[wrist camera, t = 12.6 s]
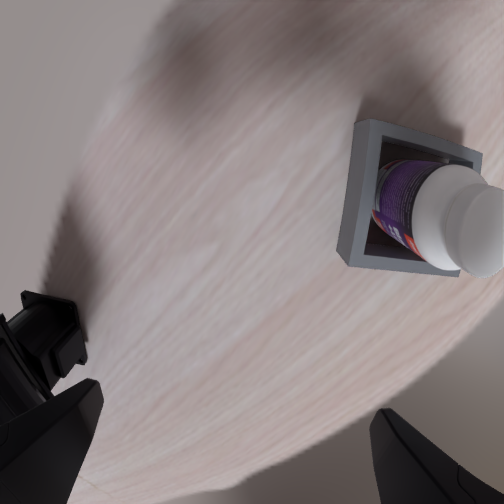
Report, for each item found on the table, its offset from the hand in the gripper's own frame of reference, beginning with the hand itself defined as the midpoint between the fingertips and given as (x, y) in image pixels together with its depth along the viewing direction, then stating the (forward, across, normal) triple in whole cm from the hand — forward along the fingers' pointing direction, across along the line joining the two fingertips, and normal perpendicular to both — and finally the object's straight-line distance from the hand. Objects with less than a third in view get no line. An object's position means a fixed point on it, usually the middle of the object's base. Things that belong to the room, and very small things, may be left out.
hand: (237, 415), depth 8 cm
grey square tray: (+13, -10, -6) cm, 17 cm away
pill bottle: (+13, -10, -6) cm, 18 cm away
